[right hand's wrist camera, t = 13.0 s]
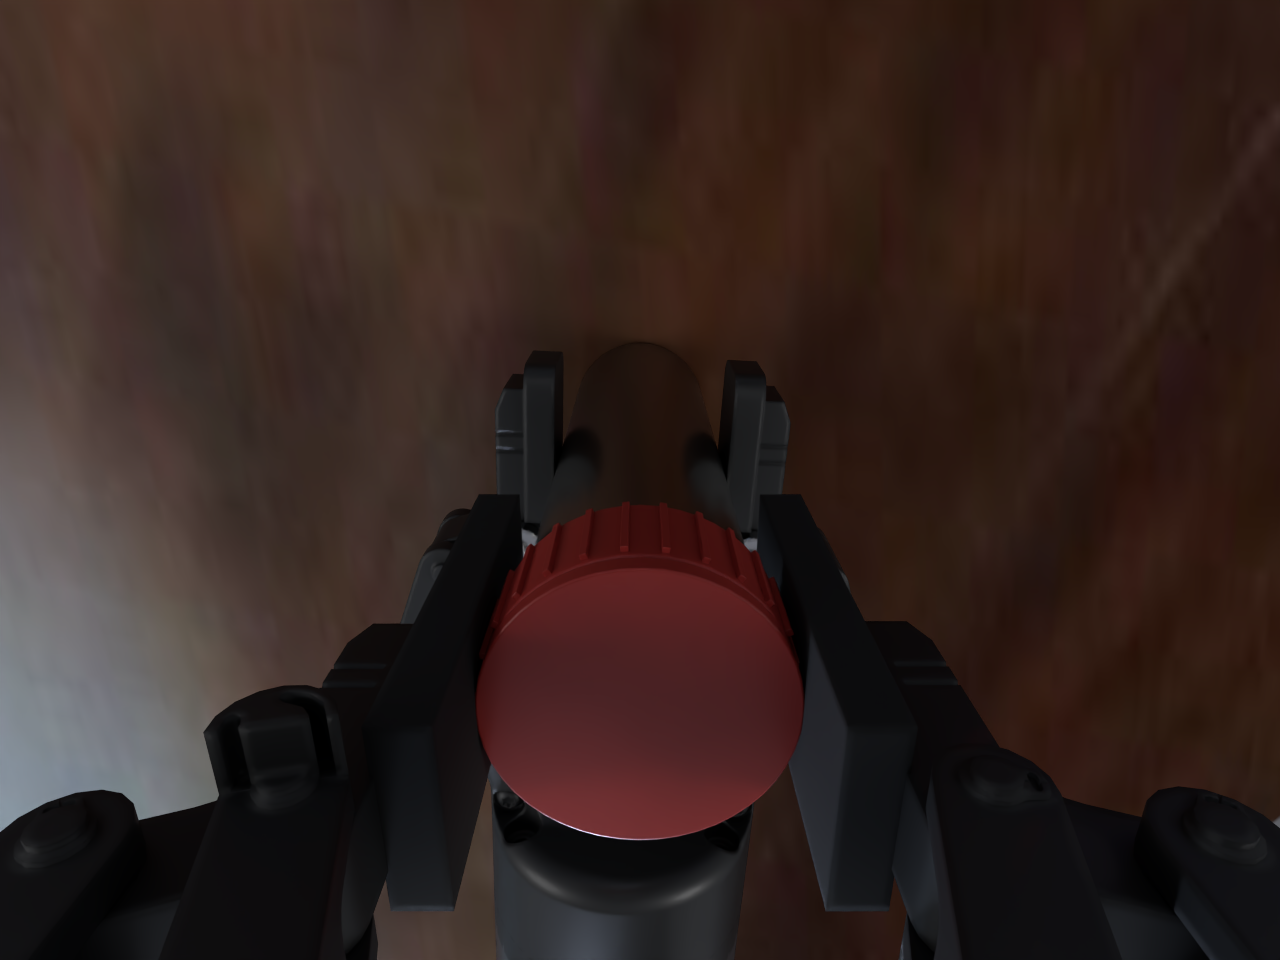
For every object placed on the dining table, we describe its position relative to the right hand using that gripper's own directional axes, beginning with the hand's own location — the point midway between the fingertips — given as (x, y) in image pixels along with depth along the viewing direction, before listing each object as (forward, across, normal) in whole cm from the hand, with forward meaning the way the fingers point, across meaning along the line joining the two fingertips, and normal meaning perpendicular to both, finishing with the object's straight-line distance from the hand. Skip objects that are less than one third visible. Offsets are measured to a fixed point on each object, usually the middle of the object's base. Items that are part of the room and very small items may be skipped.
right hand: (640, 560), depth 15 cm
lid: (-4, 0, 0) cm, 4 cm away
